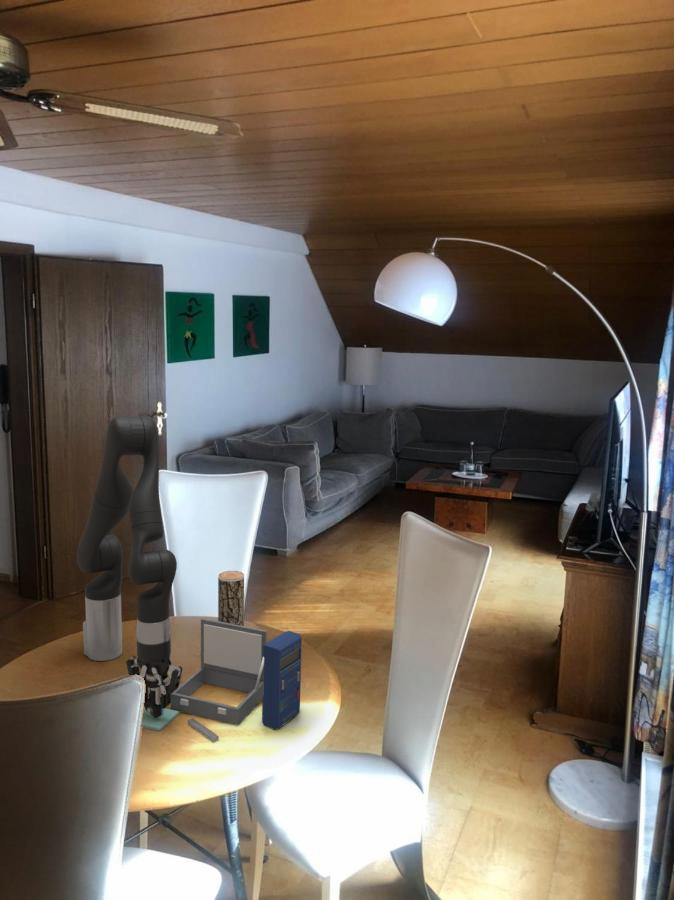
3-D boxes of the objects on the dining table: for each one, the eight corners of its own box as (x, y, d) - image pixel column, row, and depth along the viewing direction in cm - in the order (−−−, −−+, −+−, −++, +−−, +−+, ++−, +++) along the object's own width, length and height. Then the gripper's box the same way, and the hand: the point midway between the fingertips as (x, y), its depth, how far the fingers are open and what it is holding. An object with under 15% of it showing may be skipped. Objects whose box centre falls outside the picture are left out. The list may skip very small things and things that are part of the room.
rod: (187, 725, 173) (187, 720, 172) (192, 723, 174) (192, 717, 173) (213, 744, 166) (213, 738, 165) (218, 741, 167) (218, 735, 166)
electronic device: (278, 731, 171) (279, 649, 167) (260, 724, 173) (261, 643, 170) (301, 713, 179) (303, 634, 175) (284, 706, 181) (285, 629, 177)
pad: (130, 723, 172) (130, 721, 172) (150, 706, 179) (150, 704, 179) (160, 731, 169) (160, 728, 169) (179, 713, 177) (179, 711, 177)
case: (169, 710, 178) (168, 643, 175) (203, 679, 193) (203, 617, 190) (239, 727, 172) (240, 658, 169) (269, 694, 187) (270, 630, 184)
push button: (134, 710, 174) (134, 670, 173) (153, 702, 178) (153, 663, 176) (151, 721, 170) (151, 681, 168) (170, 712, 174) (170, 673, 172)
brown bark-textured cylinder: (238, 670, 199) (239, 580, 194) (214, 667, 200) (214, 578, 195) (246, 658, 205) (247, 572, 200) (223, 655, 206) (223, 569, 202)
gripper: (116, 636, 169) (118, 705, 173) (171, 648, 165) (172, 719, 168) (136, 624, 176) (138, 690, 180) (189, 634, 172) (190, 702, 175)
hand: (154, 703), depth 174 cm, fingers closed on push button, 5 cm apart
